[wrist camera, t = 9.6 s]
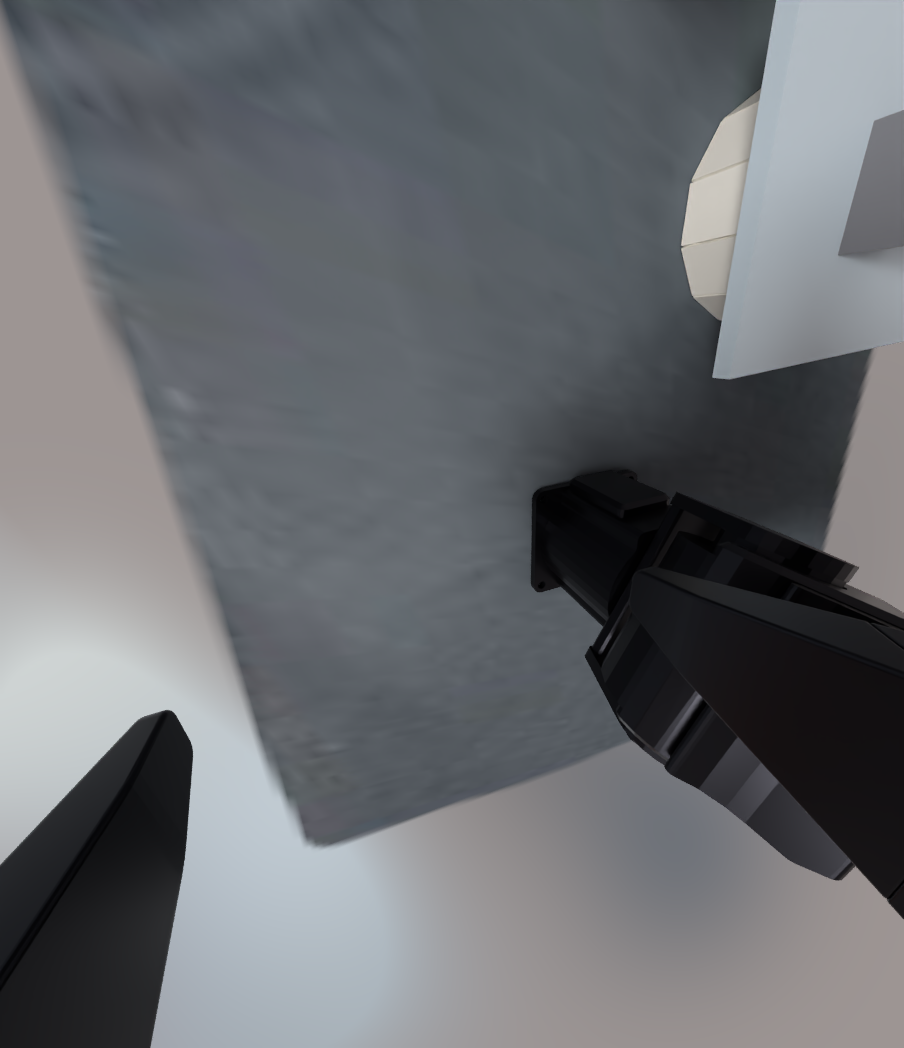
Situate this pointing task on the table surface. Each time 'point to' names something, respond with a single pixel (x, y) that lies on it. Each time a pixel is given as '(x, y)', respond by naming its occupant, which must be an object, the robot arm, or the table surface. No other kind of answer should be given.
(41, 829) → the robot arm
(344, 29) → the table surface
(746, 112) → the bowl
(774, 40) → the lid
